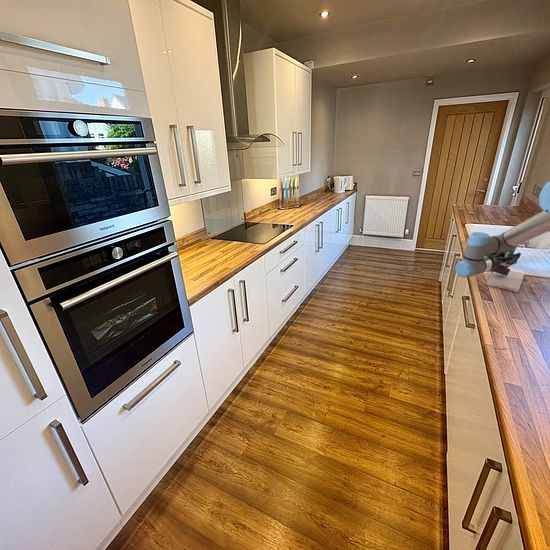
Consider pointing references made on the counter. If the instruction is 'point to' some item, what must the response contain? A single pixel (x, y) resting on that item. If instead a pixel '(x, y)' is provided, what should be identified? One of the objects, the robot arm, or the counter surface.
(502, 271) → the brush
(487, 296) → the counter surface
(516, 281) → the tile
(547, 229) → the robot arm
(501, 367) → the counter surface
